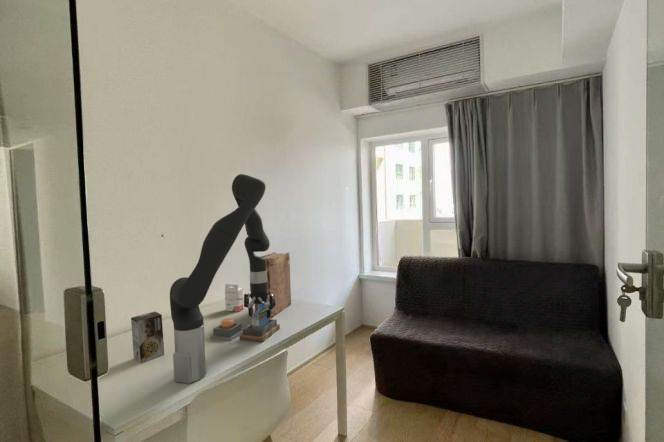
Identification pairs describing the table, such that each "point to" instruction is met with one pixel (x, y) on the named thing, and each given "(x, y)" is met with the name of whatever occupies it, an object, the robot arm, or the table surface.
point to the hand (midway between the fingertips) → (259, 317)
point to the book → (278, 281)
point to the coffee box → (147, 336)
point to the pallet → (260, 332)
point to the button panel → (227, 332)
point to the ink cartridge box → (233, 298)
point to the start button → (227, 323)
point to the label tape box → (260, 318)
